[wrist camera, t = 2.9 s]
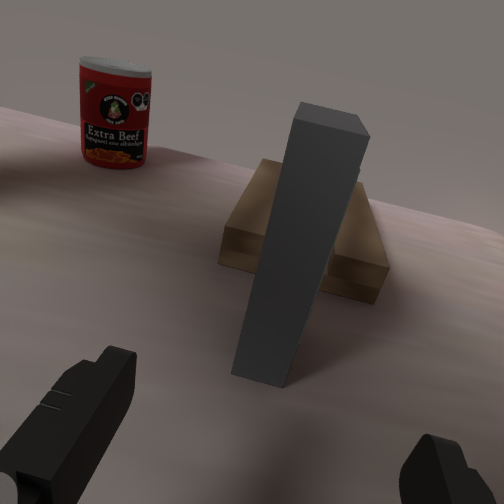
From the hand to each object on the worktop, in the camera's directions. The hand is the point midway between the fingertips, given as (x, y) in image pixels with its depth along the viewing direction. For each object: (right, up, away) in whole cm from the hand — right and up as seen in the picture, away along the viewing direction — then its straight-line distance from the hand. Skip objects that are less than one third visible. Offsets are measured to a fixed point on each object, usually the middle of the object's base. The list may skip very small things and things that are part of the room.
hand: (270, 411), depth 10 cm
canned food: (-18, +16, +37) cm, 44 cm away
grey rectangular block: (0, -1, +13) cm, 13 cm away
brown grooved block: (+5, +7, +30) cm, 31 cm away
